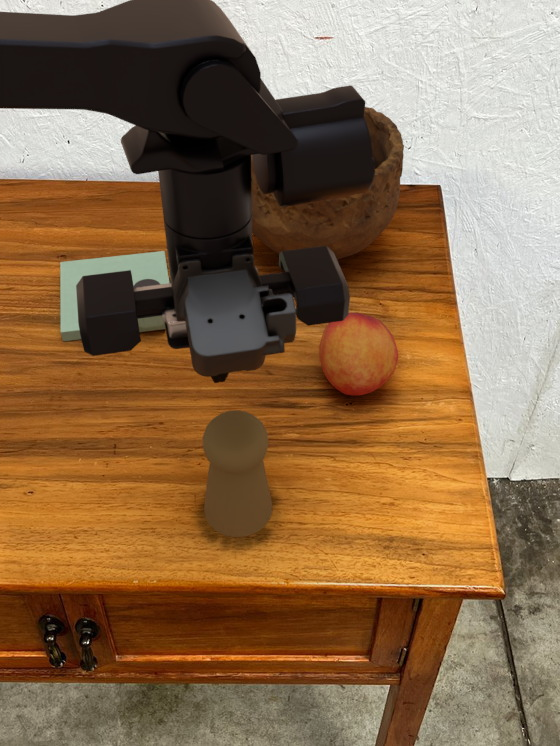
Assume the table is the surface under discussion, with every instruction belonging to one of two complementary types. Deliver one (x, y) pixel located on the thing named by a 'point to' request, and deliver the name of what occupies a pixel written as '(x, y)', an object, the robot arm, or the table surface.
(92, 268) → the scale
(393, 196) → the bowl
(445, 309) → the table surface
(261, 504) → the brown game pawn
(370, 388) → the fruit
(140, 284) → the dark brown cylinder
